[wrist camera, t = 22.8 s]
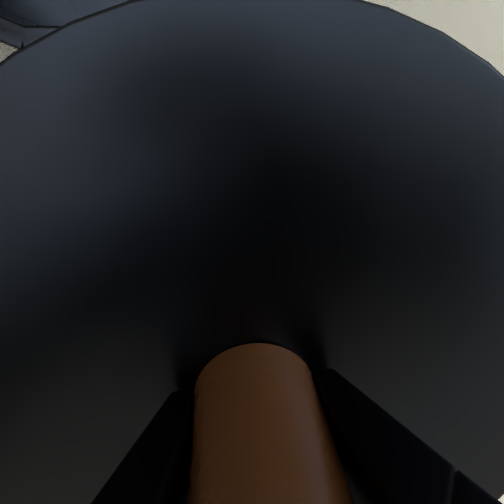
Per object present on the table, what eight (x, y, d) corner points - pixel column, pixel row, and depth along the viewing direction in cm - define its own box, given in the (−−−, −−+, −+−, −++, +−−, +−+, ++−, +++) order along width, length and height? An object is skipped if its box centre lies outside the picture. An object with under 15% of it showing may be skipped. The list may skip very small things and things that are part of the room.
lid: (368, 601, 14) (444, 856, 10) (-138, 508, 11) (-397, 829, 6) (699, 190, 10) (1167, 302, 5) (-25, -200, 6) (-775, -1067, 1)
